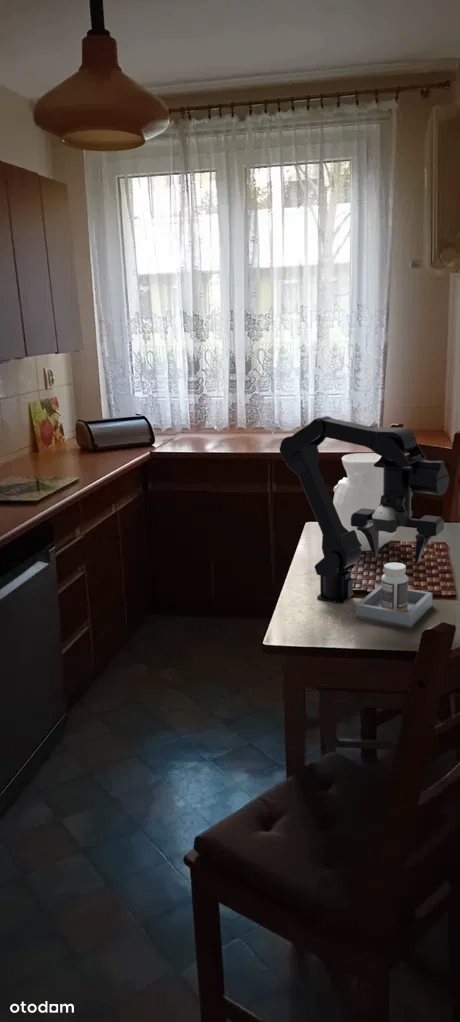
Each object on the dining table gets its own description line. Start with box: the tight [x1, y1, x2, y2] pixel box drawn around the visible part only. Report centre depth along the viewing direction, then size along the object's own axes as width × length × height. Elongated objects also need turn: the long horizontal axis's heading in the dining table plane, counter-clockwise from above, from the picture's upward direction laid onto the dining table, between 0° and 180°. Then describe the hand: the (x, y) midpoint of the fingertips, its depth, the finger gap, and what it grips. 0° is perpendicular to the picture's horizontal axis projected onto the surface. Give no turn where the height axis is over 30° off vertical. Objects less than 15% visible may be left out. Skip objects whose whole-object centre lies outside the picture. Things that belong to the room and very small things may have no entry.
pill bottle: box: [380, 562, 409, 612], centre depth 170 cm, size 6×6×10 cm
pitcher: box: [332, 452, 399, 552], centre depth 214 cm, size 19×18×25 cm
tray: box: [355, 584, 433, 629], centre depth 170 cm, size 12×14×3 cm
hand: (395, 560), depth 168 cm, fingers open, 9 cm apart
